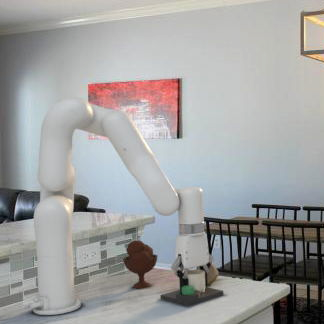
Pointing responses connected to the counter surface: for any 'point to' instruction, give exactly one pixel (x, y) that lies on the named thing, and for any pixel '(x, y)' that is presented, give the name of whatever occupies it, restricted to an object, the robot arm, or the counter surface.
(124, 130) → the robot arm
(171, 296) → the scale
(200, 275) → the cream cup
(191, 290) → the button
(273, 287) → the counter surface
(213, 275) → the mug
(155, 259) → the ice cream bowl
